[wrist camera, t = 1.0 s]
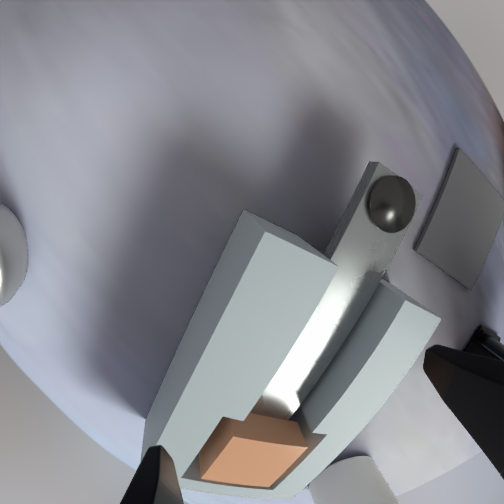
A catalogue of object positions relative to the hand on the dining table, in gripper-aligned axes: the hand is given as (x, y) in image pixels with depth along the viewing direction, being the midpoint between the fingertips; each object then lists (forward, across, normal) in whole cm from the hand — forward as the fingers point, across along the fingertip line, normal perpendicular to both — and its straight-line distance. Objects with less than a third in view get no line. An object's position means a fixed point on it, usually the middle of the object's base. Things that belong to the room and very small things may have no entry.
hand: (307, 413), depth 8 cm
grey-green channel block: (+11, 0, +7) cm, 13 cm away
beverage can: (+10, -6, +27) cm, 30 cm away
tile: (+7, +2, +10) cm, 12 cm away
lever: (+8, -3, +4) cm, 9 cm away
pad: (+10, -19, +1) cm, 22 cm away
